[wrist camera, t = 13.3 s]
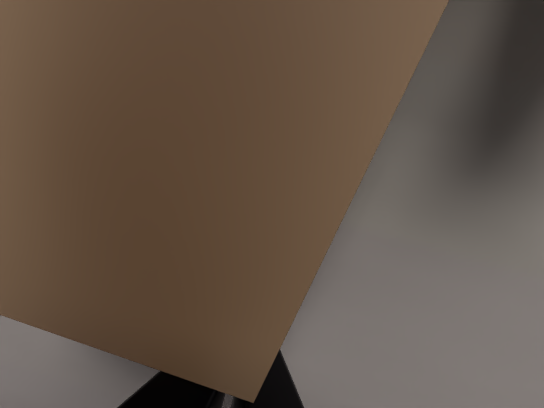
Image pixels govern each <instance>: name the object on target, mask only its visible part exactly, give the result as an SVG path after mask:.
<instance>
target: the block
mask: <svg viewBox="0 0 544 408" xmlns="http://www.w3.org/2000/svg"><path fill="white" fill-rule="evenodd" d="M448 1H449V0H0V315H2V316H5V317H8V318H11V319H14V320H16V321H19V322H22V323H25V324H28V325H31V326H34V327H37V328H39V329H42V330H45V331H48V332H51V333H54V334H57V335H60V336H62V337H65V338H68V339H71V340H74V341H77V342H80V343H82V344H85V345H88V346H91V347H94V348H97V349H100V350H103V351H105V352H108V353H111V354H114V355H117V356H120V357H123V358H126V359H128V360H131V361H134V362H137V363H140V364H143V365H146V366H148V367H151V368H154V369H157V370H160V371H163V372H166V373H169V374H171V375H174V376H177V377H180V378H183V379H186V380H189V381H192V382H194V383H197V384H200V385H203V386H206V387H209V388H212V389H214V390H217V391H220V392H223V393H226V394H229V395H232V396H235V397H237V398H240V399H243V400H246V401H249V402H252V403H254V401H255V399H256V397H257V395H258V393H259V391H260V388H261V386H262V384H263V382H264V380H265V378H266V376H267V374H268V372H269V370H270V368H271V366H272V364H273V362H274V360H275V358H276V356H277V353H278V351H279V349H280V347H281V345H282V343H283V341H284V339H285V337H286V335H287V333H288V331H289V329H290V327H291V325H292V323H293V321H294V318H295V316H296V314H297V312H298V310H299V308H300V306H301V304H302V302H303V300H304V298H305V296H306V294H307V292H308V290H309V288H310V285H311V283H312V281H313V279H314V277H315V275H316V273H317V271H318V269H319V267H320V265H321V263H322V261H323V259H324V257H325V255H326V253H327V250H328V248H329V246H330V244H331V242H332V240H333V238H334V236H335V234H336V232H337V230H338V228H339V226H340V224H341V222H342V220H343V218H344V215H345V213H346V211H347V209H348V207H349V205H350V203H351V201H352V199H353V197H354V195H355V193H356V191H357V189H358V187H359V185H360V183H361V180H362V178H363V176H364V174H365V172H366V170H367V168H368V166H369V164H370V162H371V160H372V158H373V156H374V154H375V152H376V150H377V147H378V145H379V143H380V141H381V139H382V137H383V135H384V133H385V131H386V129H387V127H388V125H389V123H390V121H391V119H392V117H393V115H394V112H395V110H396V108H397V106H398V104H399V102H400V100H401V98H402V96H403V94H404V92H405V90H406V88H407V86H408V84H409V82H410V80H411V77H412V75H413V73H414V71H415V69H416V67H417V65H418V63H419V61H420V59H421V57H422V55H423V53H424V51H425V49H426V47H427V45H428V42H429V40H430V38H431V36H432V34H433V32H434V30H435V28H436V26H437V24H438V22H439V20H440V18H441V16H442V14H443V12H444V10H445V7H446V5H447V3H448Z"/></svg>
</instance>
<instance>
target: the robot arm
mask: <svg viewBox="0 0 544 408" xmlns="http://www.w3.org/2000/svg"><path fill="white" fill-rule="evenodd" d="M224 396H225V393H223V392H220V391H217V390H214V389H212V388H209V387H206V386H203V385H200V384H197V383H194V382H192V381H189V380H186V379H183V378H180V377H177V376H174V375H171V374H169V373H166V372H163V371H160V372H158V373H157V374H156V375H155V376H154V377H153V378H151V379H150V380H149V381H148V382H147V383H146V384H144V385H143V386H142V387H141V388H140V389H139V390H137V391H136V392H135V393H134V394H133V395H132V396H130V397H129V398H128V399H127V400H126V401H125V402H123V403H122V404H121V405H120V406H119V407H117V408H222V404H223V400H224ZM231 408H304V406H303V404H302V401H301V399H300V397H299V394H298V392H297V389H296V387H295V385H294V382H293V380H292V377H291V375H290V372H289V370H288V368H287V365H286V363H285V360H284V358H283V356H282V353H281V351H280V349H279V351H278V353H277V356H276V358H275V360H274V362H273V364H272V366H271V368H270V370H269V372H268V374H267V376H266V378H265V380H264V382H263V384H262V386H261V388H260V391H259V393H258V395H257V397H256V399H255V401H254V403H252V402H249V401H246V400H243V399H240V398H237V397H235V396H233V400H232V404H231Z"/></svg>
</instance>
